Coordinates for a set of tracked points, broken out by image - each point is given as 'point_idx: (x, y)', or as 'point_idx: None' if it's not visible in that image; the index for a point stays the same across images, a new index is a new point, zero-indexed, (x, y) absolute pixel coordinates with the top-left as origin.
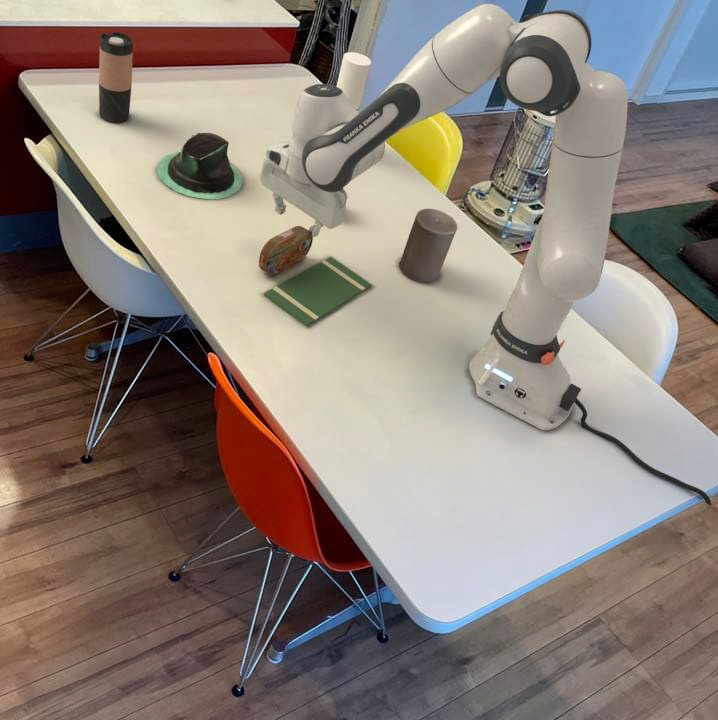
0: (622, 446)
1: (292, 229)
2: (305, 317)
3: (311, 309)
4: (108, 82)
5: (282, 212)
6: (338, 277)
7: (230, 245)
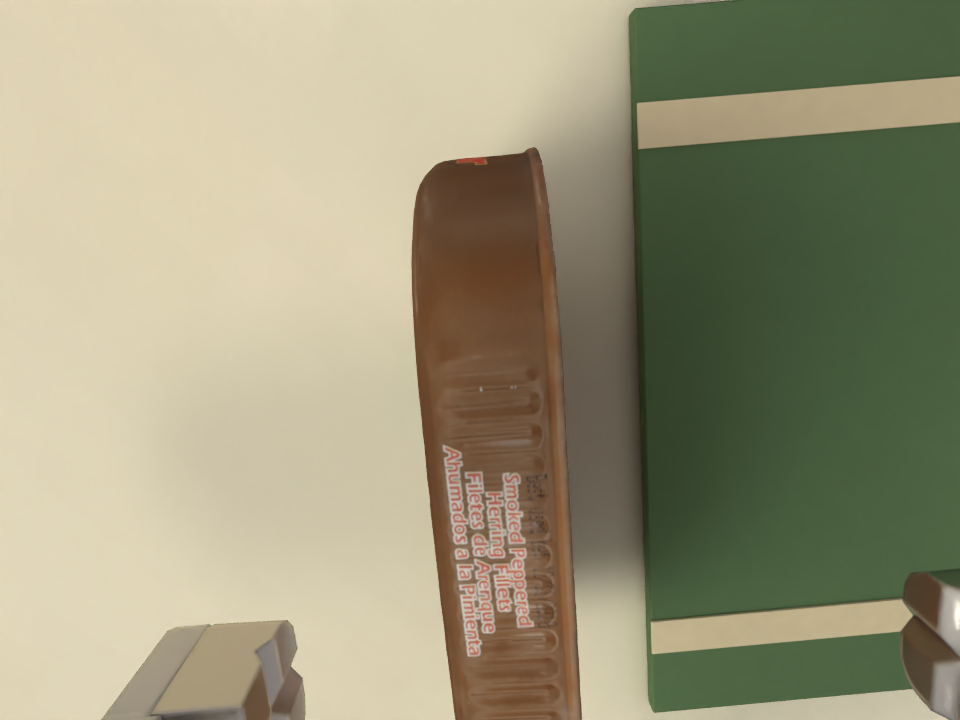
0: None
1: (457, 448)
2: None
3: None
4: None
5: (283, 672)
6: (849, 165)
7: (156, 578)
